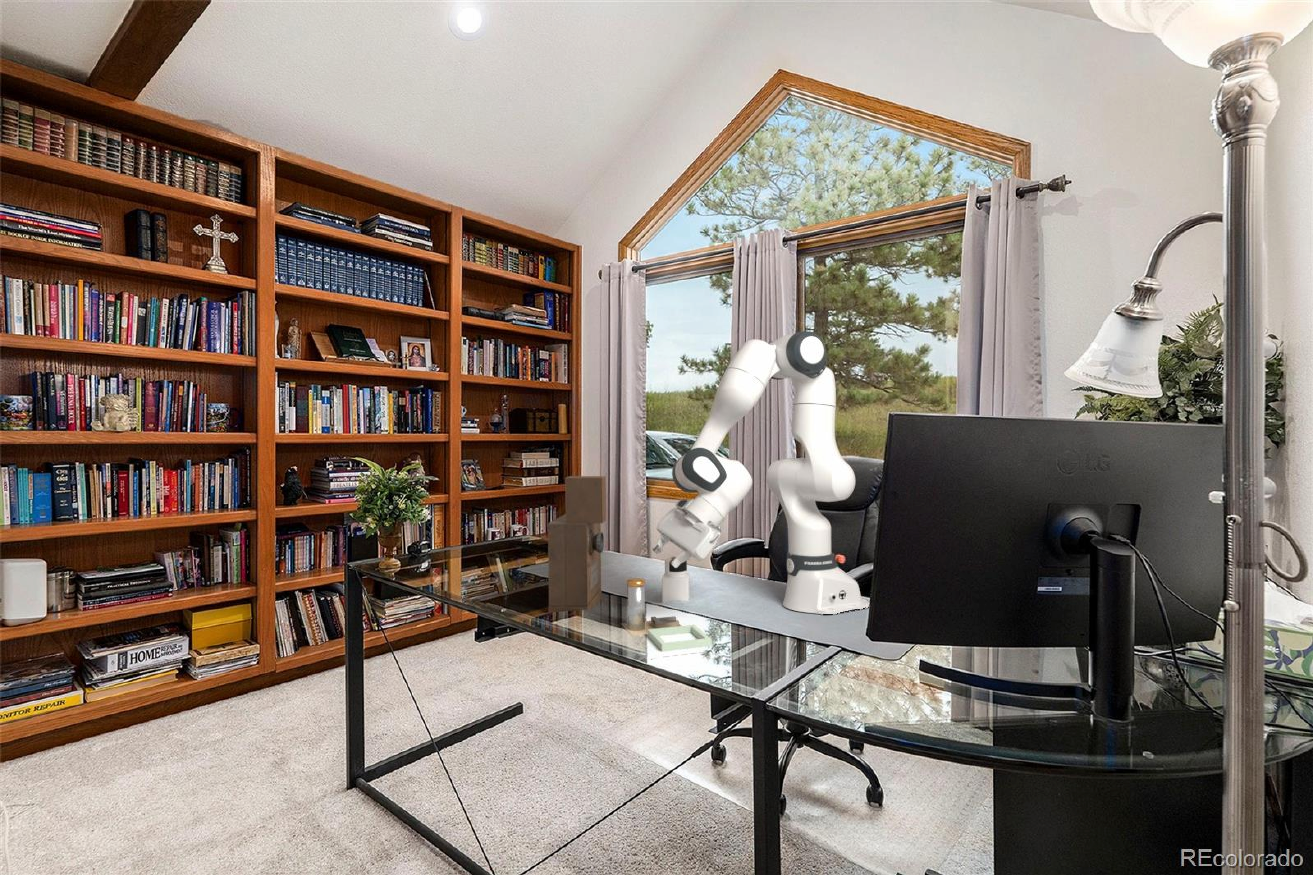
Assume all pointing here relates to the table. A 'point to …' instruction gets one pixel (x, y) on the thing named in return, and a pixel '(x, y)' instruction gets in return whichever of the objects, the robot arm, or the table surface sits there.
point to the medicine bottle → (675, 582)
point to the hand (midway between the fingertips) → (663, 558)
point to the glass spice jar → (636, 604)
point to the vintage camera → (577, 546)
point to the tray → (678, 645)
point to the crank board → (654, 625)
